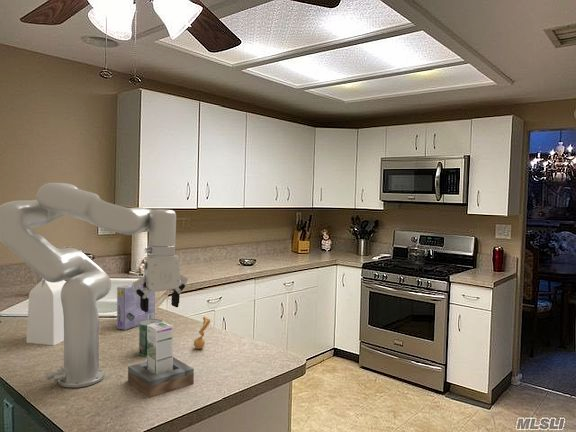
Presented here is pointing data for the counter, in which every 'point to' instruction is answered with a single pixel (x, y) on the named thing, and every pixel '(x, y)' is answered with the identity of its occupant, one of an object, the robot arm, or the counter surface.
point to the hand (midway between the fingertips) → (160, 308)
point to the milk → (45, 314)
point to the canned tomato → (144, 335)
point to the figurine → (199, 341)
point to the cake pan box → (132, 307)
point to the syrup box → (159, 348)
